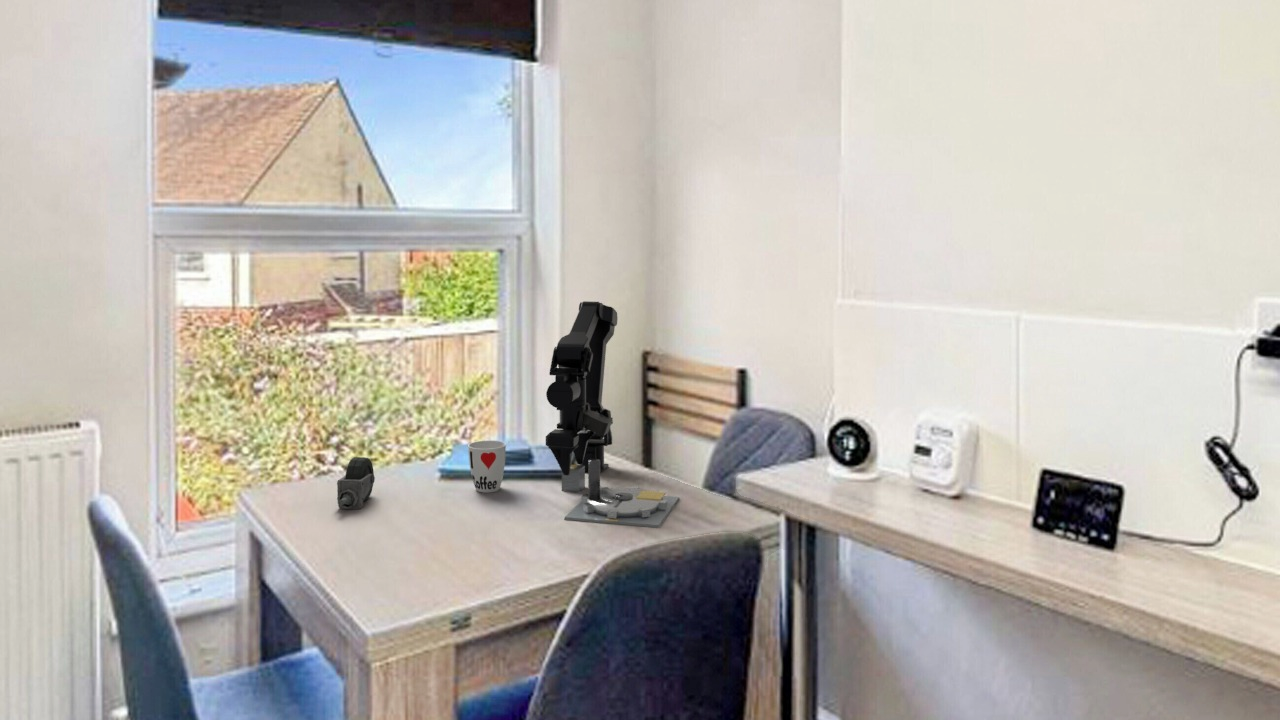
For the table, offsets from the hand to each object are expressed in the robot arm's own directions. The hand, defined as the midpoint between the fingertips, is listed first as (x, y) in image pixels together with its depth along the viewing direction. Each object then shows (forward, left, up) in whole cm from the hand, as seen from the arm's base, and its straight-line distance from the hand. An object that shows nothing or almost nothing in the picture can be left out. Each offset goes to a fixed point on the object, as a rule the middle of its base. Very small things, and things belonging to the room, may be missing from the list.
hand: (573, 469), depth 198 cm
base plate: (+11, +15, -4) cm, 19 cm away
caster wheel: (+22, -40, -5) cm, 46 cm away
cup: (+5, -18, -4) cm, 19 cm away
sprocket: (+11, +15, -4) cm, 19 cm away
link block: (0, 0, -4) cm, 4 cm away
